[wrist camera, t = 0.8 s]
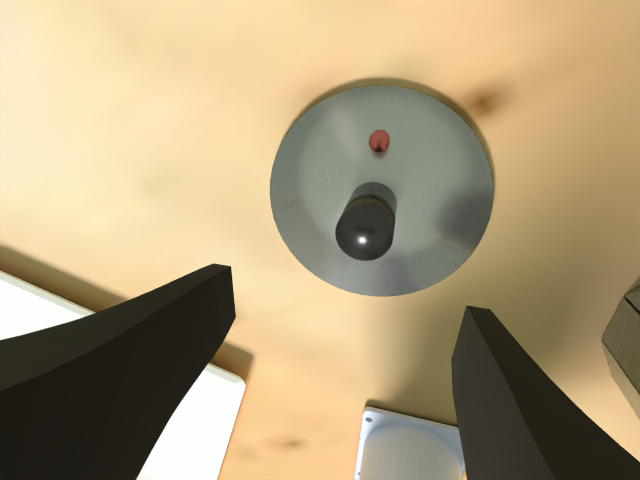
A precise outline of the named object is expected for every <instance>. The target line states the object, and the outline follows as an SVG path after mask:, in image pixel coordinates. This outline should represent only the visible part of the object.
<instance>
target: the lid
mask: <svg viewBox="0 0 640 480" xmlns="http://www.w3.org/2000/svg"><path fill="white" fill-rule="evenodd" d="M270 200H271V208H272V212H273V216H274V220H275V223H276V225H277V228H278V231H279V233H280V235H281V237H282V239H283V241H284V242H285V244H286V245H287V247H288V248H289V250H290V251H291V253H292V254H293V255H294V256H295V257H296V259H297V260H298V261H299V262H300V263H301V264H302V265H303V266H304V267H305V268H307V269H308V270H309V271H310V272H312V273H313V274H314V275H316V276H317V277H319V278H320V279H322V280H324V281H325V282H327V283H329V284H331V285H333V286H335V287H337V288H340V289H343V290H346V291H349V292H352V293H357V294H361V295H368V296H397V295H404V294H408V293H413V292H416V291H419V290H422V289H425V288H428V287H430V286H432V285H434V284H436V283H438V282H440V281H441V280H443V279H444V278H446V277H448V276H449V275H451V274H452V273H453V272H454V271H455V270H457V269H458V268H459V267H460V266H461V265H462V264H463V263H464V262H465V261H466V260H467V259H468V258H469V257H470V255H471V254H472V253H473V251H474V250H475V248H476V247H477V246H478V244H479V242H480V240H481V238H482V236H483V234H484V232H485V230H486V227H487V224H488V221H489V219H490V214H491V209H492V202H493V183H492V174H491V170H490V166H489V162H488V159H487V156H486V154H485V152H484V150H483V147H482V145H481V143H480V142H479V140H478V138H477V137H476V135H475V134H474V132H473V131H472V129H471V128H470V127H469V126H468V125H467V124H466V123H465V121H464V120H463V119H462V118H461V117H460V116H459V115H457V114H456V113H455V112H454V111H453V110H452V109H450V108H449V107H448V106H446V105H445V104H443V103H441V102H440V101H438V100H437V99H435V98H433V97H431V96H428V95H426V94H424V93H421V92H419V91H415V90H412V89H408V88H404V87H397V86H389V85H375V86H365V87H359V88H353V89H350V90H347V91H344V92H341V93H337V94H335V95H333V96H331V97H329V98H327V99H325V100H323V101H321V102H320V103H318V104H317V105H315V106H314V107H312V108H311V109H310V110H309V111H307V112H306V113H305V114H304V115H303V116H302V117H301V118H300V119H299V120H298V121H297V122H296V123H295V124H294V126H293V127H292V128H291V129H290V130H289V132H288V133H287V135H286V137H285V138H284V140H283V141H282V143H281V145H280V148H279V150H278V152H277V154H276V157H275V161H274V164H273V167H272V173H271V179H270Z"/></svg>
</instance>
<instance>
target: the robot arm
mask: <svg viewBox="0 0 640 480" xmlns="http://www.w3.org/2000/svg"><path fill="white" fill-rule="evenodd" d="M235 318H236V314H235V304H234V293H233V283H232V273H231V266H225V265H219V264H211V265H208V266H206V267H203V268H201V269H199V270H196V271H194V272H192V273H190V274H187V275H185V276H183V277H181V278H179V279H176V280H174V281H172V282H170V283H168V284H165V285H163V286H161V287H159V288H157V289H154V290H152V291H150V292H147V293H145V294H143V295H140V296H138V297H135V298H133V299H131V300H128V301H126V302H123V303H121V304H119V305H116V306H113V307H111V308H108V309H105V310H103V311H100V312H97V313H94V314H91V315H88V316H85V317H82V318H79V319H76V320H73V321H70V322H67V323H63V324H60V325H56V326H52V327H49V328H45V329H42V330H38V331H34V332H31V333H27V334H23V335H19V336H15V337H11V338H7V339H2V340H0V480H136V479H137V477H138V476H139V474H140V472H141V470H142V468H143V466H144V464H145V463H146V461H147V459H148V457H149V455H150V453H151V451H152V450H153V448H154V446H155V444H156V443H157V441H158V439H159V437H160V436H161V434H162V432H163V430H164V429H165V427H166V425H167V423H168V422H169V420H170V418H171V416H172V415H173V413H174V412H175V410H176V409H177V407H178V406H179V404H180V403H181V401H182V400H183V398H184V397H185V396H186V394H187V393H188V391H189V390H190V389H191V387H192V386H193V384H194V383H195V381H196V380H197V379H198V377H199V376H200V374H201V373H202V372H203V370H204V369H205V367H206V366H207V365H208V363H209V362H210V360H211V359H212V357H213V356H214V355H215V353H216V352H217V350H218V349H219V347H220V346H221V344H222V343H223V341H224V339H225V337H226V335H227V333H228V332H229V330H230V328H231V326H232V324H233V322H234V320H235ZM452 386H453V397H454V404H455V410H456V416H457V422H458V427H454V426H450V425H446V424H441V423H437V422H433V421H429V420H424V419H420V418H416V417H412V416H407V415H403V414H399V413H395V412H390V411H386V410H382V409H378V408H373V407H365V408H364V410H363V417H362V424H361V431H360V439H359V446H358V453H357V460H356V468H355V475H354V480H462V475H463V472H464V470H465V469H466V475H467V480H640V462H639V461H638V460H637V459H636V458H634V457H633V456H632V455H631V454H630V453H628V452H627V451H626V450H625V449H624V448H623V447H621V446H620V445H619V444H618V443H617V442H616V441H615V440H613V439H612V438H611V437H610V436H609V435H608V434H607V433H606V432H605V431H603V430H602V429H601V428H600V427H599V426H598V425H597V424H596V423H595V422H593V421H592V420H591V419H590V418H589V417H588V416H587V415H586V414H585V413H584V412H583V411H582V410H581V409H580V408H579V407H577V406H576V405H575V404H574V403H573V402H572V401H571V400H570V399H569V398H568V397H567V395H566V394H565V393H564V392H563V391H562V390H561V389H560V388H559V387H558V386H557V385H556V384H555V383H554V382H553V381H552V380H551V379H550V378H549V377H548V376H547V375H546V374H545V373H544V372H543V371H542V369H541V368H540V367H539V366H538V365H537V364H536V363H535V362H534V361H533V359H532V358H531V357H530V356H529V355H528V354H527V353H526V352H525V350H524V349H523V348H522V347H521V346H520V345H519V343H518V342H517V341H516V340H515V339H514V337H513V336H512V335H511V334H510V333H509V332H508V330H507V329H506V328H505V327H504V325H503V324H502V323H501V322H500V321H499V319H498V318H497V317H496V316H495V315H494V314H493V312H492V311H491V310H490V309H484V308H478V307H472V306H466V310H465V313H464V317H463V320H462V324H461V327H460V331H459V335H458V338H457V342H456V345H455V349H454V352H453V356H452Z"/></svg>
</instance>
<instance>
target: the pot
mask: <svg viewBox="0 0 640 480" xmlns="http://www.w3.org/2000/svg"><path fill="white" fill-rule="evenodd" d="M625 296H626V297H627V298H623V299H622V301H621V303H620V305H619V307H618V309H617V310H616V312H615V314H614V316H613V318H612V320H611V322H610V324H609V326H608V327H607V329H606V331H605V333H604V335H603V337H602V339H603V340H602V344H603V347H604V351H605V354H606V358H607V361H608V365H609V368H610V372H611V375H612V377H613V379H614V381H615V382H616V384H617V385H618V387H619V388H620V390H621V391H622V393H623V395H624V396H625V398H626V399H627V401H628V402H629V404H630V405H631V407H632V408H633V410H634V412H635V413H636V415H637V416H638V418H639V419H640V286H639V287H638V288H636V289H635V290H633V291H632V292H630V293H628V294H627V295H625Z"/></svg>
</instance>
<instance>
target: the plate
mask: <svg viewBox="0 0 640 480" xmlns="http://www.w3.org/2000/svg"><path fill="white" fill-rule="evenodd" d="M94 313H96V312H93V311H91V310H89V309H86V308H84V307H82V306H80V305H77V304H75V303H73V302H71V301H68V300H66V299H64V298H62V297H59V296H57V295H55V294H53V293H50V292H48V291H46V290H44V289H41V288H39V287H37V286H35V285H32V284H30V283H28V282H26V281H23V280H21V279H19V278H17V277H14V276H12V275H10V274H7V273H5V272H3V271H1V270H0V340H2V339H7V338H11V337H15V336H19V335H23V334H27V333H31V332H34V331H38V330H42V329H45V328H49V327H52V326H56V325H60V324H63V323H67V322H70V321H73V320H76V319H79V318H82V317H85V316H88V315H91V314H94ZM245 387H246V384H245V383H244V381H243V380H242V378H241V377H240V376H238V375H235V374H233V373H231V372H229V371H226V370H224V369H222V368H220V367H217V366H215V365H213V364H211V363H208V365H207V366H206V367H205V369H204V370H203V372H202V373H201V374H200V376H199V377H198V379H197V380H196V381H195V383H194V384H193V386H192V387H191V389H190V390H189V391H188V393H187V394H186V396H185V397H184V398H183V400H182V401H181V403H180V404H179V406H178V407H177V409H176V410H175V412H174V413H173V415H172V416H171V418H170V420H169V422H168V423H167V425H166V427H165V429H164V430H163V432H162V434H161V436H160V437H159V439H158V441H157V443H156V444H155V446H154V448H153V450H152V451H151V453H150V455H149V457H148V459H147V461H146V463H145V464H144V466H143V468H142V470H141V472H140V474H139V476H138V477H137V479H136V480H217V477H218V474H219V471H220V468H221V465H222V461H223V458H224V455H225V452H226V448H227V445H228V442H229V439H230V435H231V432H232V429H233V426H234V422H235V419H236V416H237V413H238V410H239V406H240V403H241V400H242V397H243V393H244V390H245Z"/></svg>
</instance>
